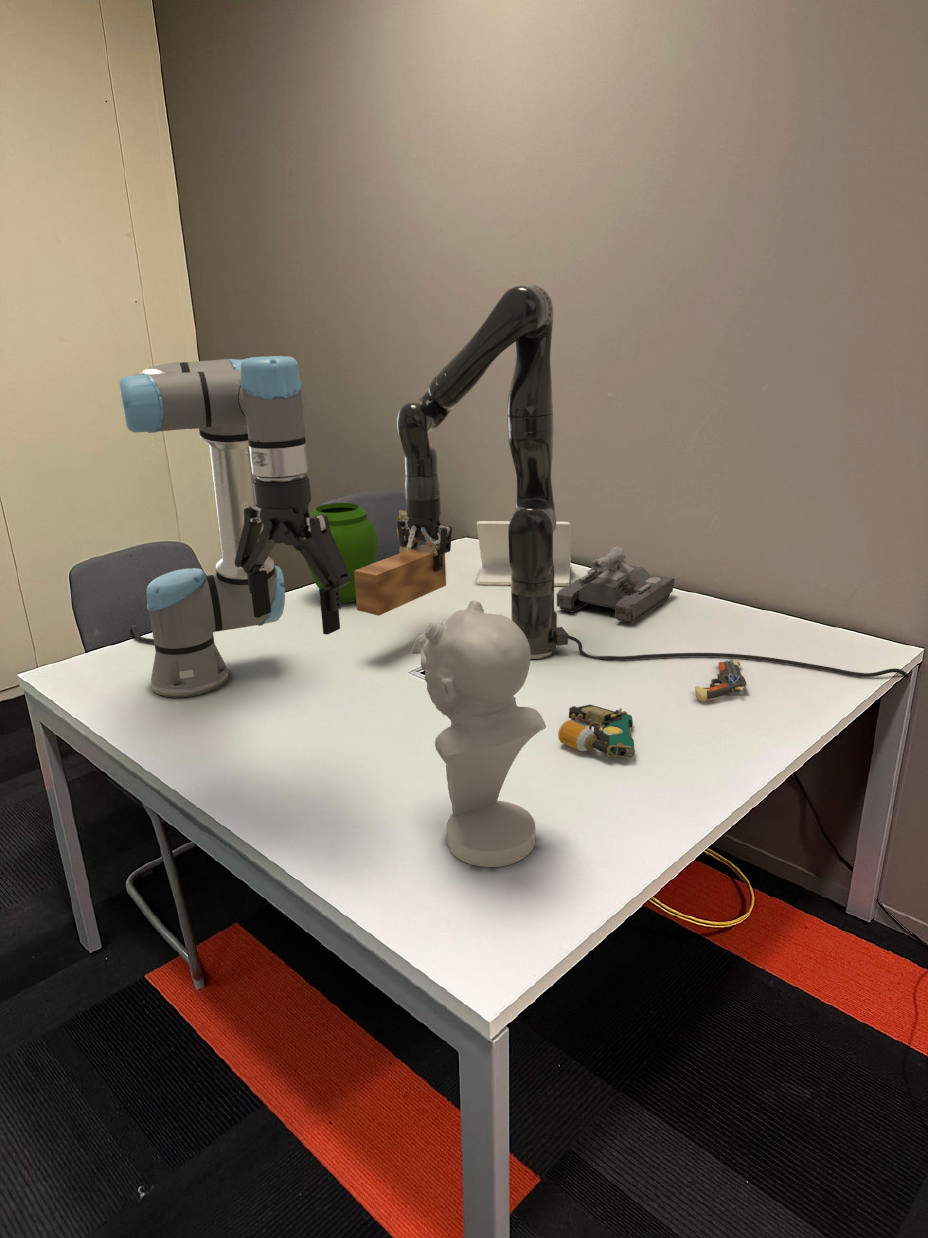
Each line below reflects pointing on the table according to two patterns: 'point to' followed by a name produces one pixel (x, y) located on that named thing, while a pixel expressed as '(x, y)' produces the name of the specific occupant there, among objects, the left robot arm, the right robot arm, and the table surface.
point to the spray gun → (599, 731)
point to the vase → (349, 541)
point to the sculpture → (401, 516)
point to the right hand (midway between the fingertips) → (425, 568)
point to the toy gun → (723, 682)
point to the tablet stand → (497, 553)
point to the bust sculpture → (481, 729)
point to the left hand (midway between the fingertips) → (296, 623)
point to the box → (397, 580)
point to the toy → (616, 588)
